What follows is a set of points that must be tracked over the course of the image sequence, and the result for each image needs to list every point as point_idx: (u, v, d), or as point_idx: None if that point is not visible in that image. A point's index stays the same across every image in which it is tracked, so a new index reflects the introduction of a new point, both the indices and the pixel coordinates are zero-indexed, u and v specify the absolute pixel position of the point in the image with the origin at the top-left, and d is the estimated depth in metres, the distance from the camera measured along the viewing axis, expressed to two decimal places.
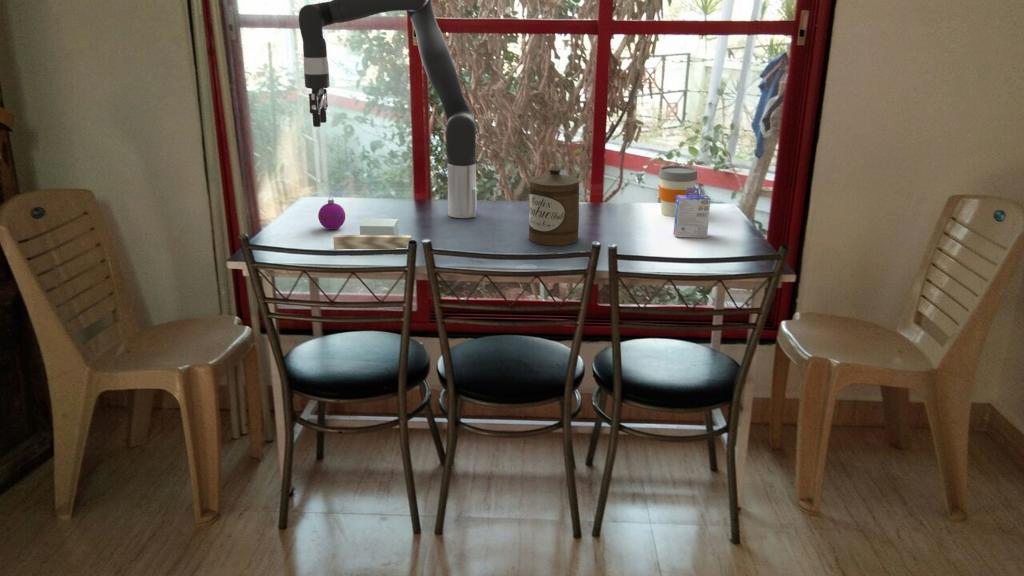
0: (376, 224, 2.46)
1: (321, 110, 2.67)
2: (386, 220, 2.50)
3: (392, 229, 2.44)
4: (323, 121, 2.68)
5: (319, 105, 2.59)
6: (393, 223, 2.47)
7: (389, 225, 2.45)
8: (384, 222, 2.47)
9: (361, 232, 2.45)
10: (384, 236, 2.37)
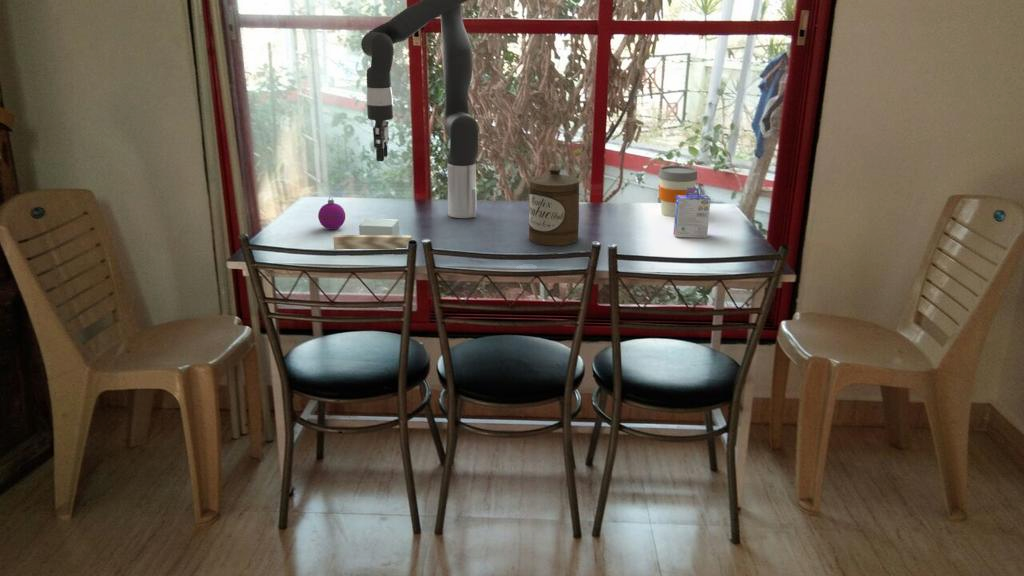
0: (375, 224, 2.46)
1: None
2: (386, 220, 2.50)
3: (391, 229, 2.44)
4: (384, 155, 2.55)
5: (383, 138, 2.47)
6: (393, 223, 2.47)
7: (388, 225, 2.45)
8: (384, 223, 2.47)
9: (360, 232, 2.45)
10: (384, 236, 2.37)
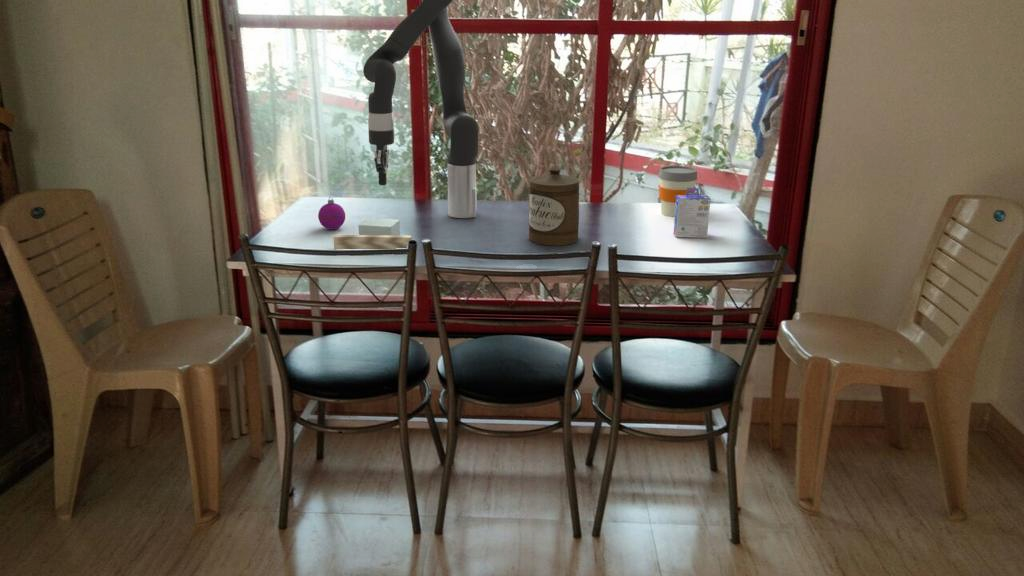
0: (375, 224, 2.46)
1: None
2: (387, 220, 2.50)
3: (389, 230, 2.44)
4: None
5: (385, 164, 2.52)
6: (392, 224, 2.46)
7: (387, 225, 2.44)
8: (384, 223, 2.47)
9: (360, 231, 2.46)
10: (384, 236, 2.37)
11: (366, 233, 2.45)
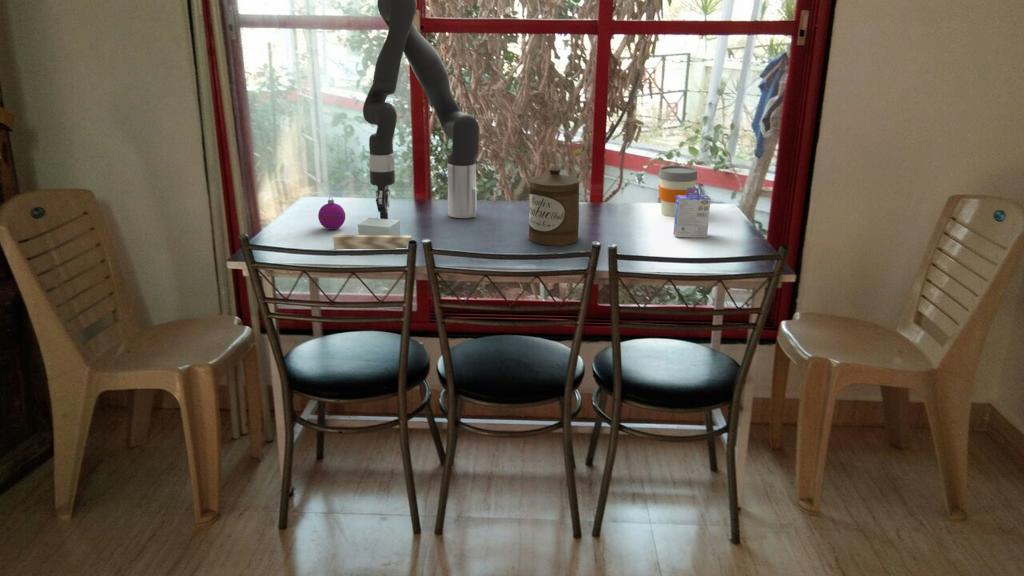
0: (374, 224, 2.46)
1: None
2: (387, 220, 2.49)
3: (388, 230, 2.43)
4: None
5: (386, 204, 2.55)
6: (391, 224, 2.46)
7: (386, 226, 2.44)
8: (384, 223, 2.47)
9: (359, 231, 2.46)
10: (384, 236, 2.37)
11: (365, 233, 2.46)
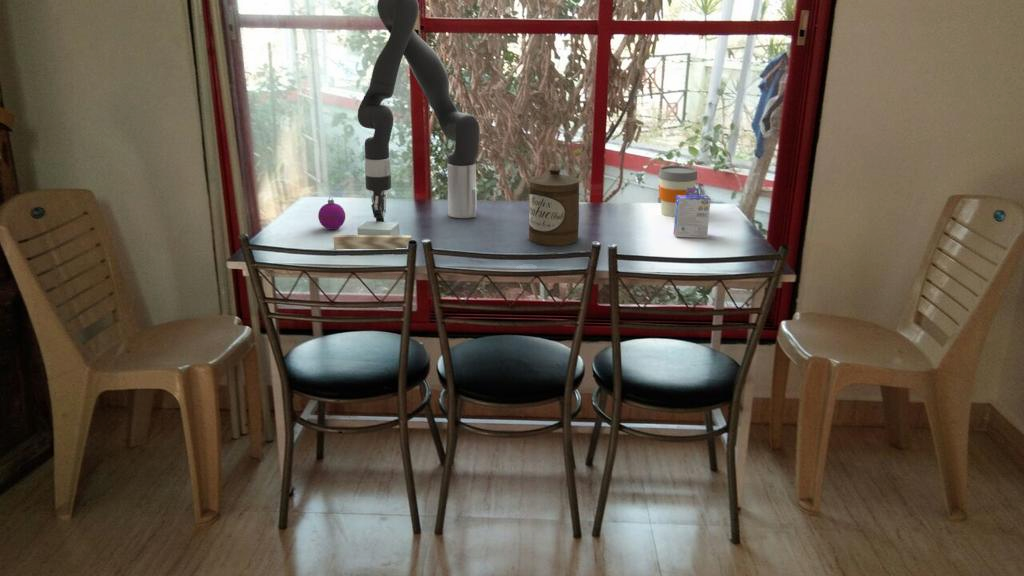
0: (374, 227, 2.42)
1: None
2: (386, 223, 2.46)
3: (389, 233, 2.40)
4: None
5: (382, 210, 2.48)
6: (391, 227, 2.43)
7: (386, 229, 2.41)
8: (383, 226, 2.44)
9: (359, 234, 2.42)
10: (384, 236, 2.37)
11: None
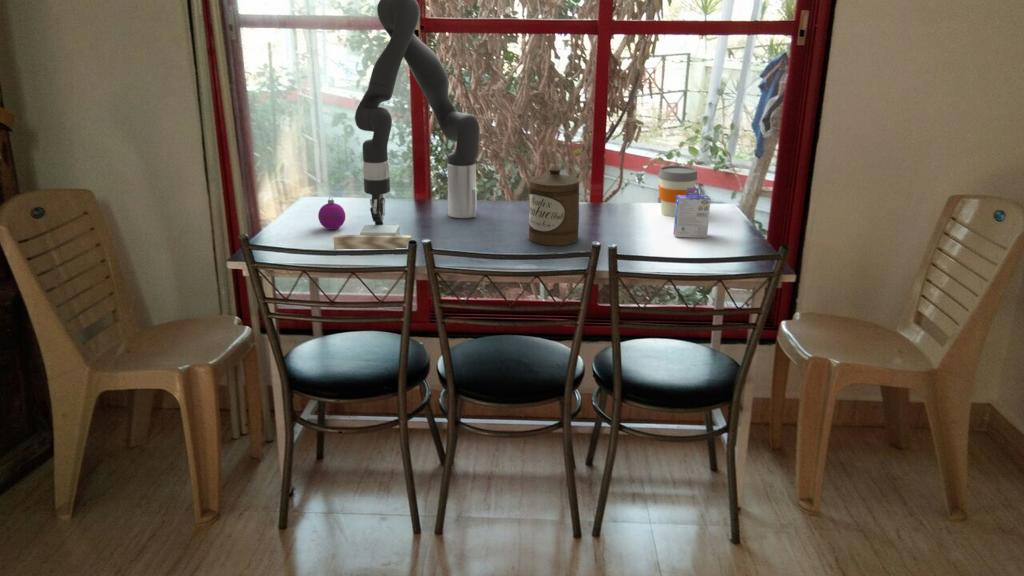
0: (377, 230, 2.39)
1: None
2: (387, 226, 2.43)
3: None
4: None
5: (381, 213, 2.45)
6: (394, 229, 2.40)
7: (390, 231, 2.38)
8: (385, 229, 2.41)
9: None
10: (384, 236, 2.37)
11: None
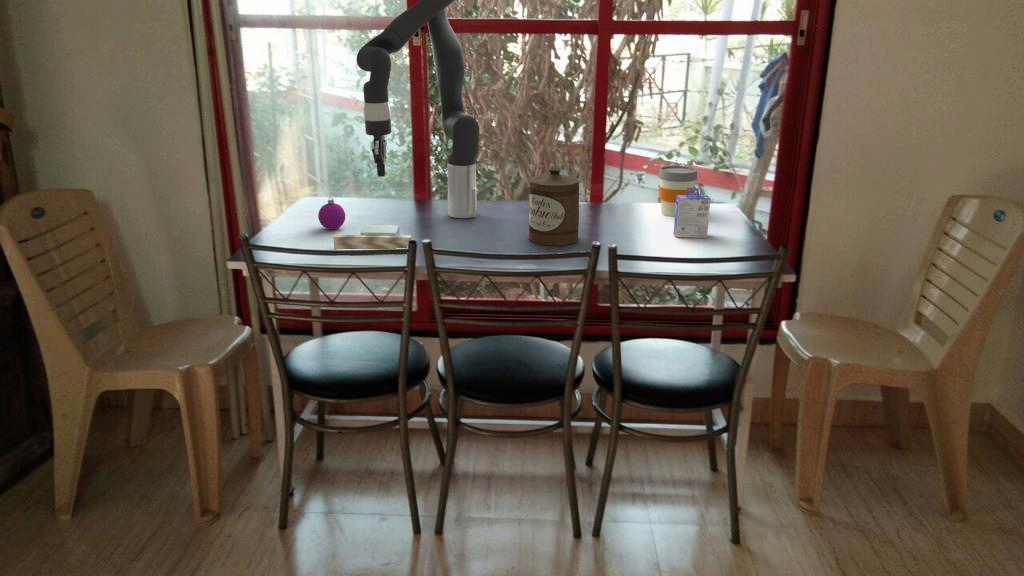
0: (377, 231, 2.39)
1: None
2: (387, 226, 2.43)
3: None
4: None
5: (383, 155, 2.46)
6: (394, 229, 2.40)
7: (390, 232, 2.38)
8: (386, 229, 2.41)
9: None
10: (384, 236, 2.37)
11: None
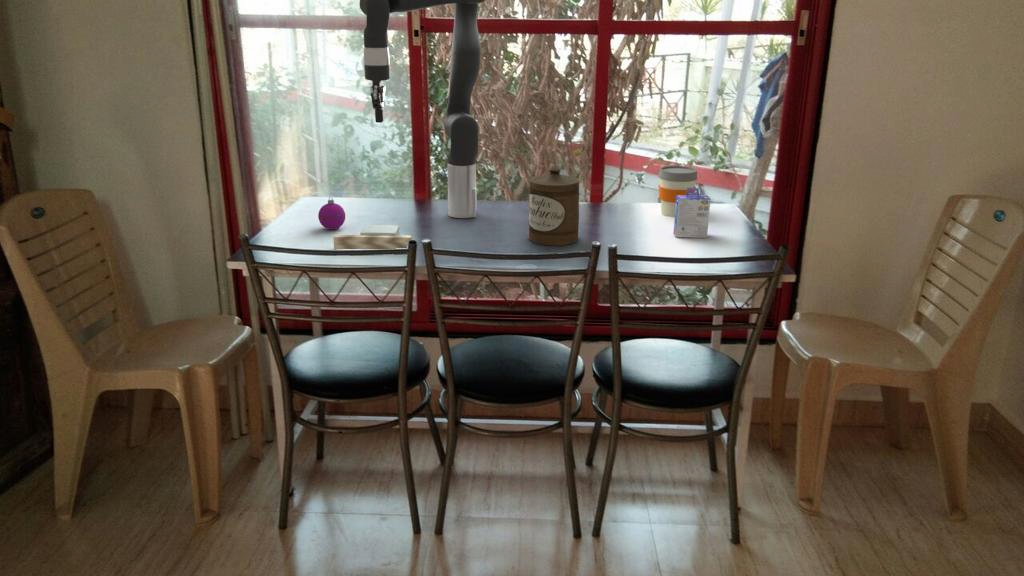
0: (377, 231, 2.39)
1: None
2: (387, 226, 2.43)
3: None
4: None
5: (381, 101, 2.49)
6: (394, 229, 2.40)
7: (390, 232, 2.38)
8: (386, 229, 2.41)
9: None
10: (384, 236, 2.37)
11: None
